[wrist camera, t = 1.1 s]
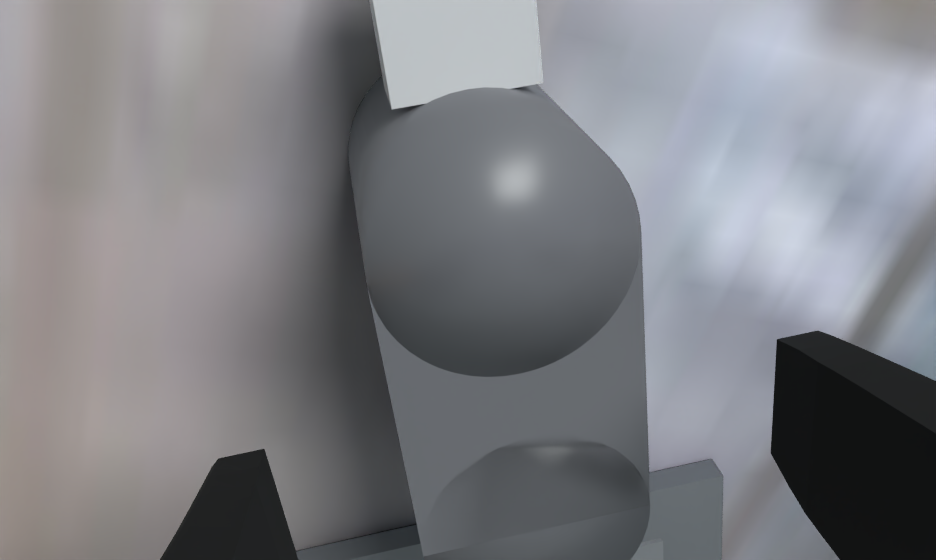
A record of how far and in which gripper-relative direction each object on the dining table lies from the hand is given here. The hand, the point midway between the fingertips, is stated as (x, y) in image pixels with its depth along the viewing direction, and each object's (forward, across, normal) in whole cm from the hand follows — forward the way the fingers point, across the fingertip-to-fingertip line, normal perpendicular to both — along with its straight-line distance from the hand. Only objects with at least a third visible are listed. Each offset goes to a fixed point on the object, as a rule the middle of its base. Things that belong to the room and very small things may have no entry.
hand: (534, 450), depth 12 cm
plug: (+5, 0, -1) cm, 6 cm away
